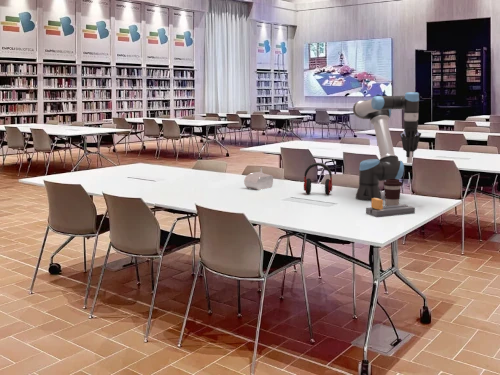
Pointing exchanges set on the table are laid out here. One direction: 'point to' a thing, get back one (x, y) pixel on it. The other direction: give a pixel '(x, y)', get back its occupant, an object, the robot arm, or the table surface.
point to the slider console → (391, 210)
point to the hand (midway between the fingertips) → (409, 162)
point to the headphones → (327, 183)
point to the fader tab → (377, 203)
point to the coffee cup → (392, 191)
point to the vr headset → (258, 180)
